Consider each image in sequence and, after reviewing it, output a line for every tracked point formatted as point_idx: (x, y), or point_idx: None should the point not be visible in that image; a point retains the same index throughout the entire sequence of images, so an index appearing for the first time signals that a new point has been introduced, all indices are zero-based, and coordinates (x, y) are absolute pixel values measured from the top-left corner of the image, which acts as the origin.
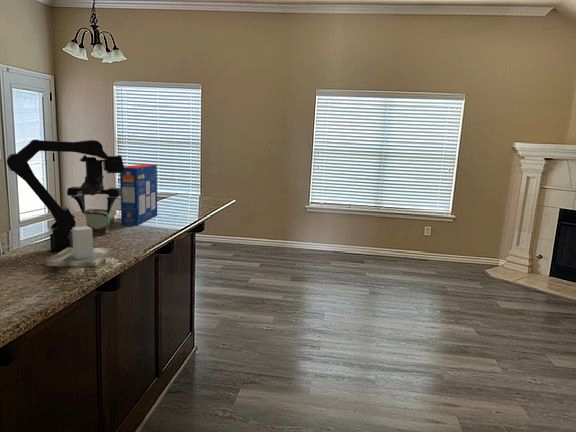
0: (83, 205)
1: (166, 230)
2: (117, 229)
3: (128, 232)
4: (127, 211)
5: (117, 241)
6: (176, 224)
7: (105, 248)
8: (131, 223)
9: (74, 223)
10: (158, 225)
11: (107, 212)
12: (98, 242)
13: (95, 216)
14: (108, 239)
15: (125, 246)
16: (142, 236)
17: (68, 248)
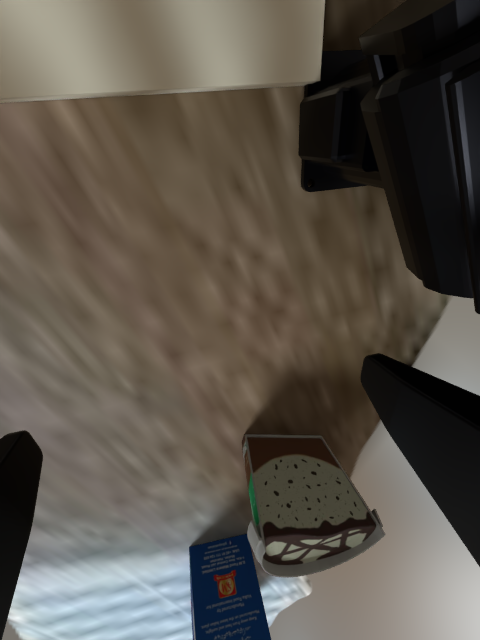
0: (453, 467)
1: (33, 551)
2: (235, 496)
3: (172, 484)
4: (236, 604)
5: (131, 364)
6: (60, 602)
7: (9, 78)
8: (213, 549)
9: (386, 81)
10: (117, 573)
11: (9, 450)
12: (217, 325)
13: (320, 511)
14: (196, 382)
15: (5, 282)
16: (68, 464)
17: (304, 43)
